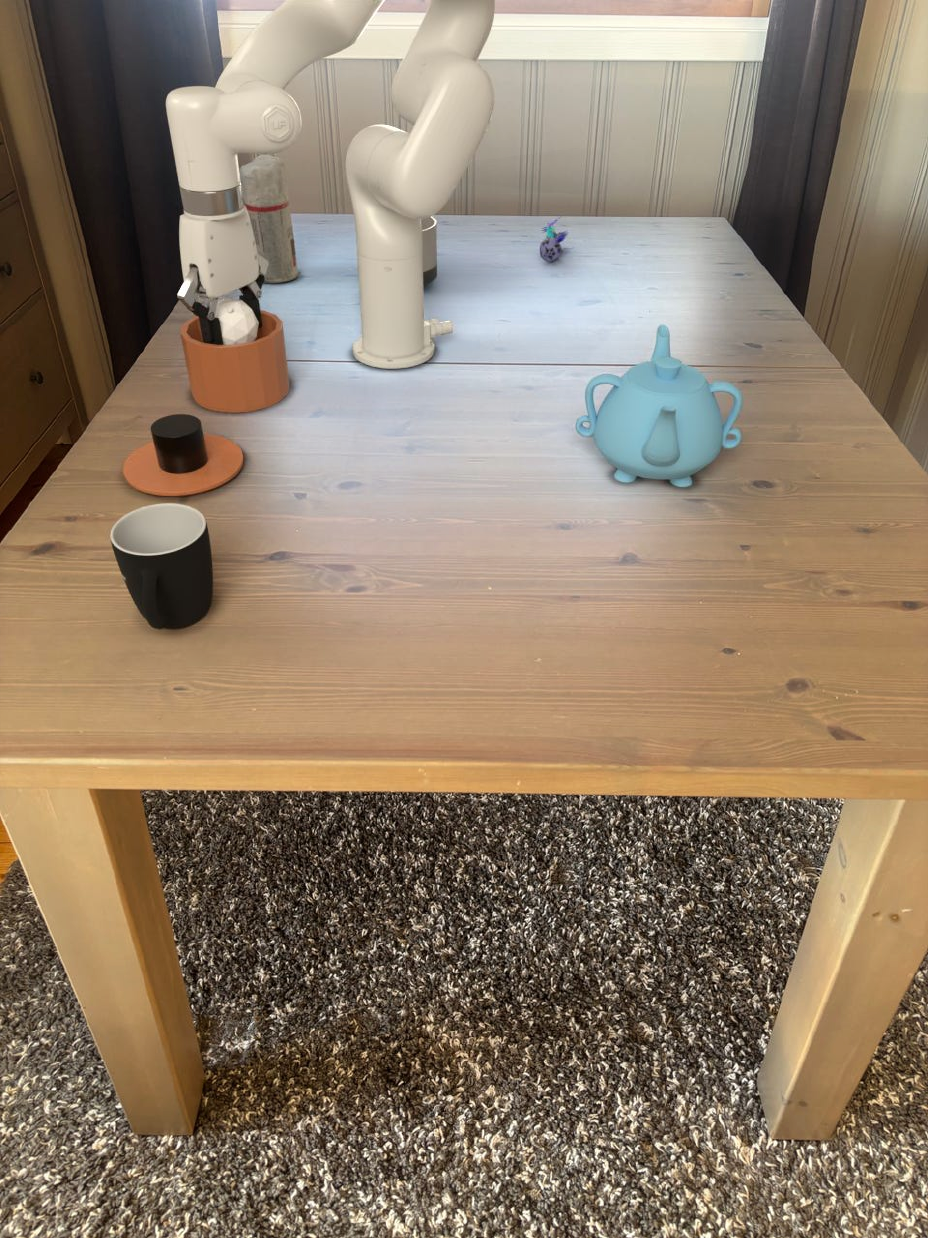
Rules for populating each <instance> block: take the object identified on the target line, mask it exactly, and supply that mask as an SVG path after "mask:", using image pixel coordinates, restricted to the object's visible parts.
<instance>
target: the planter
mask: <svg viewBox="0 0 928 1238" xmlns="http://www.w3.org/2000/svg"><path fill="white" fill-rule="evenodd" d="M420 220H421V226H422V238H423V287H424V286H426V285H429V284H431V283H432V282H434V281H435V280H436V279H437V277H438V238H437V237H438V233H437V232H438V231H437V228H438V227H437V226H438V225H437V223H438V222H437V220H436V218H434V217H433V216H431V217H429V218H426V219H420Z"/></svg>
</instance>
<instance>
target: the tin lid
mask: <svg viewBox="0 0 928 1238" xmlns="http://www.w3.org/2000/svg"><path fill="white" fill-rule="evenodd" d="M150 425H151V426H150V433H151V437H152V441H150V442H147V443H146V444H143V445H142V446H140V447H139V448H136V449H135V450H134V451H133V452H131V453H130V454H129V455H128V456H127V457H126V459H125V461H124V463H123V466H122V474H123V478H124V480H125V481H126V483H127V484H128V485H129V486H130V487H132V488H133V489H135V490H137V491H139V492H142V493H145V494H148V495H153V496H163V497H180V496H188V495H195V494H200V493H204V492H207V491H210V490H212V489H216V488H218V487H220V486H222V485H224V484H225V483H227V482H229V481H230V480H232V479H233V478H234V477H236V476H237V474H238V473H239V472H240V471H241V469H242V468H243V464H244V454H243V452H242V450H241V448H240V446H239V445H238V444H236V443H235V442H234V441H232V440H230V439H228V438H225V437H223V436H219V435H214V434H210V433H209V434H208V433H204V429H203V425H202V421H201V419H200V418H199V417H197V416H195V415H192V414H187V413H177V414H175V413H174V414H169V415H166V416H163V417H160V418H158V419H156V420H155V421H154V422H153V423H152V424H150Z"/></svg>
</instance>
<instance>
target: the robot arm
mask: <svg viewBox="0 0 928 1238" xmlns="http://www.w3.org/2000/svg"><path fill="white" fill-rule="evenodd" d="M495 2H496V1H495V0H430V2H429V5H428V8H427V10H426V12H425V13H424V14H425V15H424V17H423V19H422V21H421V23H420V25H419V27H418V29H417V31H416V32H415V35H414V37H413V39H412V40H411V42H410V44H409V46H408V49H407V51H406V53H405V55H404V57H403V58H402V60H401V62H400V64H399V66H398V68H397V69H396V72H395V75H394V78H393V80H392V83H391V88H390V99H391V104H392V106H393V108H394V111H395V112H396V114H397V115H398V116H399V117H400V118H401V119H402V120H404V121H405V122H407V123H408V124H411V125H412V129H411V130H410V132H407V131H405V130H402V129H400V128H397V127H395V126H391V125H389V124H388V125H387V124H373V125H369V126H366V127H364V128H363V129H361V130H360V131H358V132H357V133H356V134H355V135H354V136H353V138H352V140H351V141H350V142H349V145H348V148H347V151H346V156H345V177H346V184H347V189H348V192H349V198H350V201H351V206H352V212H353V219H354V230H355V231H354V232H355V242H356V243H355V244H356V263H357V275H358V293H359V308H360V309H359V310H360V322H361V323H360V324H361V336H360V337H359V338H357V339H356V340H355V341H354V343H353V344H352V354H353V357H354V359H355V360H357V361H358V362H360V363H361V364H364V365H365V366H369V367H373V368H378V369H386V370H389V369H391V370H398V369H399V370H400V369H407V368H408V369H409V368H414V367H416V366H419V365H422V364H425V363H426V362H428V361H430V359H431V358H432V357H433V356H434V355H435V343H434V341H433V340H434V339H436V337H437V336H444V335H450V334H453V333H454V324H453V322H452V321H451V320H446V321H441V322H439V321H438V319H437V318H436V317H435V318H429V319H425V303H424V301H425V300H424V297H425V296H424V286H423V238H422V226H421V220H420V219H426V218H429V217H433V216H435V215H437V214H438V213H439V212H440V211H441V210H442V209H443V208H444V207H445V205H446V204H447V203H448V201H449V200H450V198H451V197H452V195H453V193H454V192H455V190H456V188H457V187H458V185H459V183H460V181H461V180H462V178H463V177H464V174H465V172H466V171H467V168H468V167H469V165H470V163H471V161H472V160H473V157H474V156H475V154H476V152H477V150H478V148H479V147H480V145H481V143H482V141H483V139H484V137H485V135H486V133H487V131H488V129H489V126H490V123H491V121H492V118H493V114H494V113H493V111H494V108H495V91H494V90H495V89H494V85H493V82H492V79H491V77H490V75H489V73H488V71H487V70H486V69H485V68H484V66H482V65H481V64H480V63H478V60H479V59H480V56H481V53H482V52H483V49H484V48H485V45H486V43H487V41H488V39H489V36H490V34H491V31H492V27H493V23H494V19H495V9H496V7H495V5H496V3H495ZM383 3H385V0H283V1H282V2H281V3H280V4H279V5H278V6H277V7H276V8H275V9H274V10H273V11H272V12H271V13H270V14H268V15H267V16H266V17H265V18H264V19H263V20H261V21H260V23H258V24H257V25H256V26H255V27H254V28H253V29H252V30H251V31H250V32H249V33H248V35H247V36H246V38H245V39H244V40H243V41H242V43H241V44H240V46H239V47H238V48H237V50H236V51H235V52H234V54H233V56H232V57H231V58H230V60H229V62H228V63H227V64H226V66H225V67H224V69H223V71H222V72H221V74H220V76H219V77H218V80H217V82H216V84H215V85H214V86H215V87H214V86H207V85H192V86H182V87H177V88H175V89H173V90H171V91H170V92H168V94H167V96H166V99H165V109H166V110H165V111H166V116H167V122H168V128H169V133H170V139H171V146H172V150H173V151H172V152H173V158H174V163H175V168H176V174H177V181H178V186H179V192H180V197H181V198H180V199H181V203H182V210H183V213H182V214H181V215H179V226H178V238H179V240H178V241H179V242H178V243H179V251H180V252H179V253H180V264H181V271H182V279H183V282H182V285H181V287H180V289H179V290H178V293H177V297H176V298H177V299H178V300H179V302H181V304H183V306H185V308H186V309H187V310H188V311H190V312H191V313H193V315H194V317H195V316H197V317H199V322H200V328H201V333H202V339H203V342H204V343H207V344H214V345H223V339H222V333H221V327H220V321H219V318H216V317H215V314H216V308H217V303H218V301H219V298H221V297H223V296H225V295H228V294H230V293H232V292H235V291H237V290H239V292H240V293H241V294H240V295H239V296H238V300H242V301H243V302H244V303H246V304H247V305H248V306H249V307H250V308H251V309H252V310H253V312H254V314H255V316H256V318H257V320H258V322H259V325H258V329H259V328H261V327H262V319H261V312H260V310H261V305H260V304H261V303H260V299H261V298H262V296H263V292H262V288H263V286H264V280H265V277H264V275H265V274H266V271H267V268H268V265H269V262H268V260H266V259H265V258H263V257H262V256H261V255H259V254H258V253H257V248H256V243H255V237H254V233H253V229H252V225H251V221H250V218H249V214H248V211H247V208H246V206H245V205H244V203H243V195H242V191H243V190H244V185H243V183H242V182H241V181H240V166H239V160H238V159H239V158H238V154H258V155H259V154H260V155H272V154H279V153H282V152H284V151H286V150H288V149H290V148H291V147H292V146H293V145H294V144H295V143H296V142H297V141H298V138H299V136H300V134H301V130H302V126H303V123H302V121H303V120H302V114H301V110H300V108H299V106H298V104H297V102H296V101H295V99H294V98H293V97H292V96H291V95H290V94H289V93H288V92H287V91H286V90H285V89H286V87H287V86H288V85H289V84H290V83H291V82H292V81H293V79H295V78H296V76H297V75H299V73H301V72H302V71H304V69H307V67H309V66H310V65H312V64H314V63H315V62H318V61H320V60H321V59H325V58H327V57H330V56H332V55H335V54H338V53H340V52H342V51H344V50H346V49H348V48H349V47H351V46H352V45H354V44H355V43H356V42H357V41H358V40H359V38H360V37H361V36H362V34H363V33H364V31H365V30H366V28H367V27H368V25H369V24H370V22H371V21H372V19H373V17H374V16H375V15H376V14H377V12H378V11H379V9H380V8H381V6H382V5H383ZM195 293H196V294H195ZM206 299H208V300H207V304H206V305H207V306H205V302H206Z"/></svg>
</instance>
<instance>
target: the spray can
mask: <svg viewBox="0 0 928 1238" xmlns="http://www.w3.org/2000/svg"><path fill="white" fill-rule="evenodd" d="M285 168H286V167H285V163H284V161H283V159H281V158H280V157H276V156H272V154H260V155H258V156H257V157H255V158H253V160H252V162H251V161H250V162H249V163H247V164H243V165H241V167H239V173H240V181H241V182H242V183H243V185H244V190H243V191H242V195H243V203H244V205H245V206H246V208H247V211H248V214H249V218H250V221H251V225H252V229H253V233H254V237H255V243H256V248H257V253H258V254H259V255H261V256H262V257H263V258H265V259H266V260H268V262H269V265H268V268H267V271H266V274H265V275H264V277H265V280H264V283H265V284H279V283H281V284H282V283H285V282H289V281H292V280H296V279H297V278H298V277H299V271H298V263H297V255H296V253H297V252H296V247H295V246H296V245H295V239H294V229H293V222H292V215H291V208H290V207H291V206H290V199H289V193H288V188H287V187H288V183H287V177H286V169H285ZM264 283H263V284H264Z"/></svg>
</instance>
